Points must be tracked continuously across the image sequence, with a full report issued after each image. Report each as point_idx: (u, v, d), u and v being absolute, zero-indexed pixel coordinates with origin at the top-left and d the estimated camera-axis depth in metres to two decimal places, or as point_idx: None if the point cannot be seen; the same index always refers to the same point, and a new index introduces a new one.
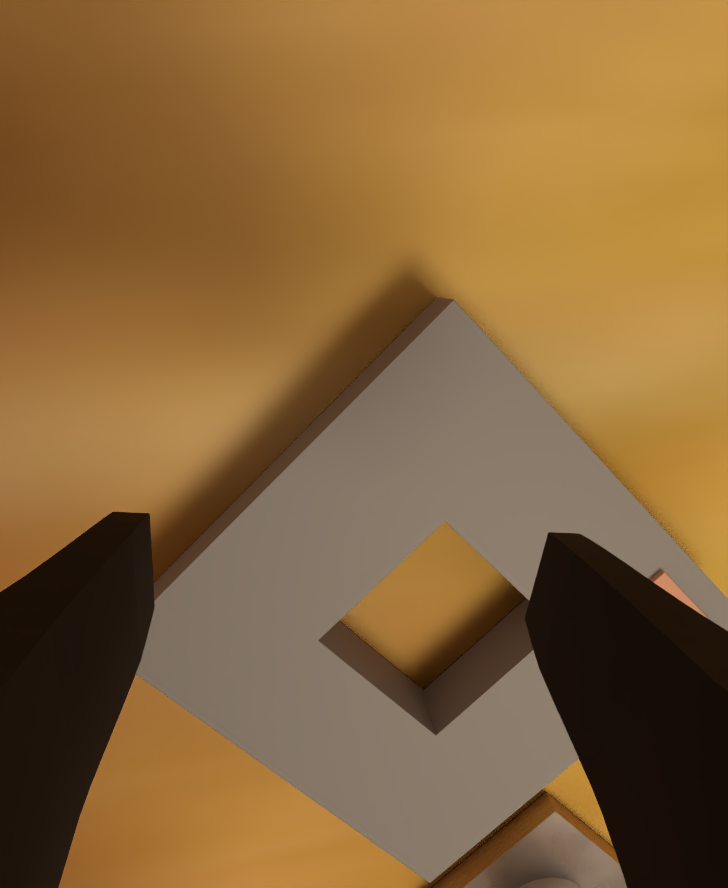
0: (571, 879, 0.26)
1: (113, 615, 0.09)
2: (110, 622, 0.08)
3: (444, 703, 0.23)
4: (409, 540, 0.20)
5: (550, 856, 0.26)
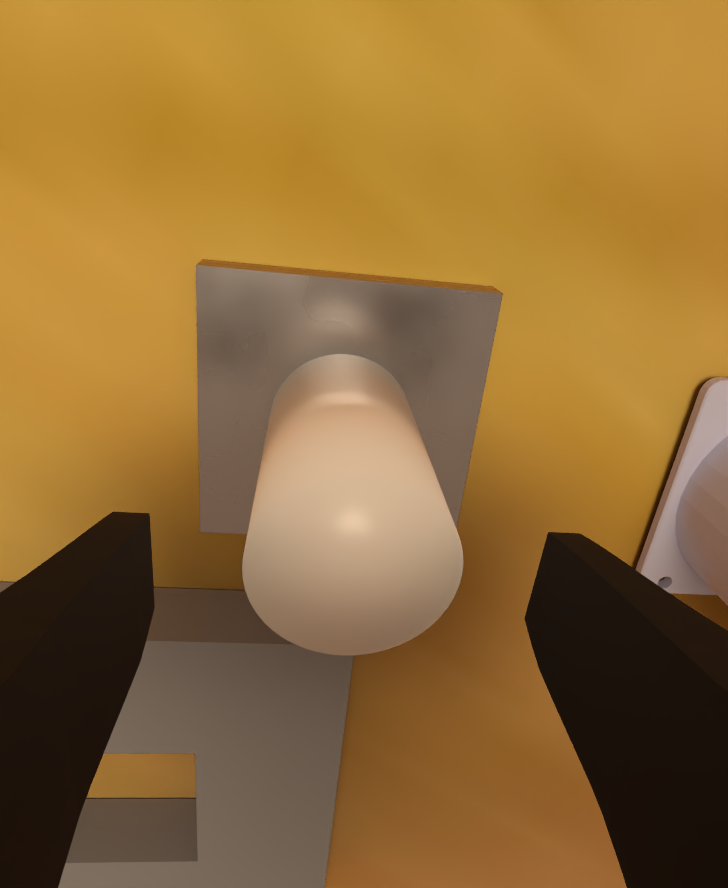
0: None
1: (113, 615, 0.09)
2: (109, 622, 0.08)
3: None
4: (69, 869, 0.22)
5: None
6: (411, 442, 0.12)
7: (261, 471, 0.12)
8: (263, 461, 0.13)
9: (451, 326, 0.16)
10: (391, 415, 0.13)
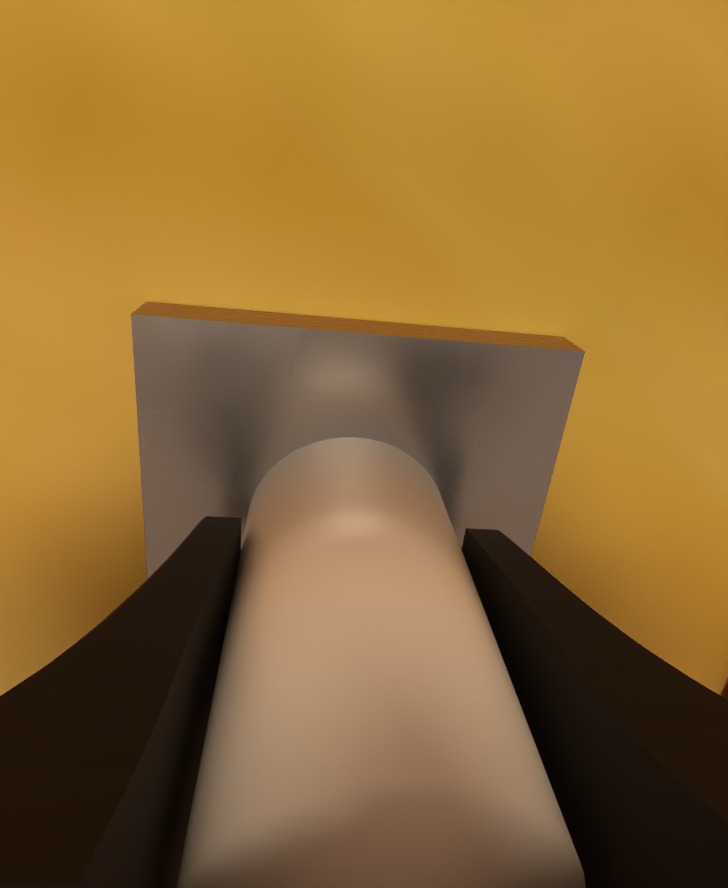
0: None
1: (221, 618, 0.09)
2: (219, 624, 0.09)
3: None
4: None
5: None
6: (472, 632, 0.07)
7: (220, 677, 0.07)
8: (225, 650, 0.08)
9: (508, 397, 0.11)
10: (434, 570, 0.08)
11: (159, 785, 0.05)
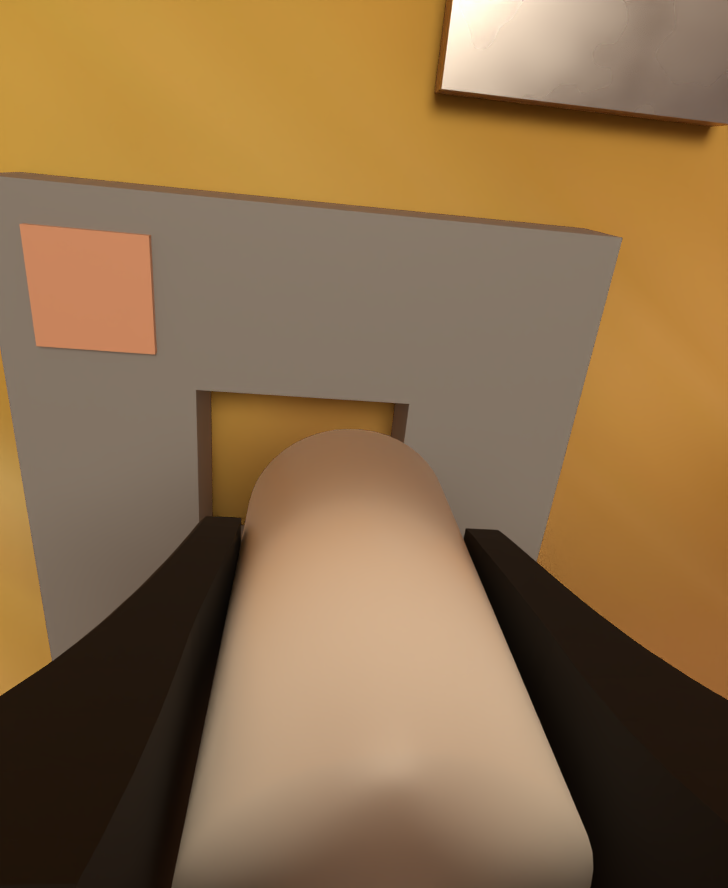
0: None
1: (221, 618, 0.09)
2: (219, 624, 0.09)
3: None
4: None
5: (521, 14, 0.15)
6: (479, 615, 0.07)
7: (222, 655, 0.07)
8: (228, 630, 0.08)
9: None
10: (440, 554, 0.08)
11: (159, 785, 0.05)
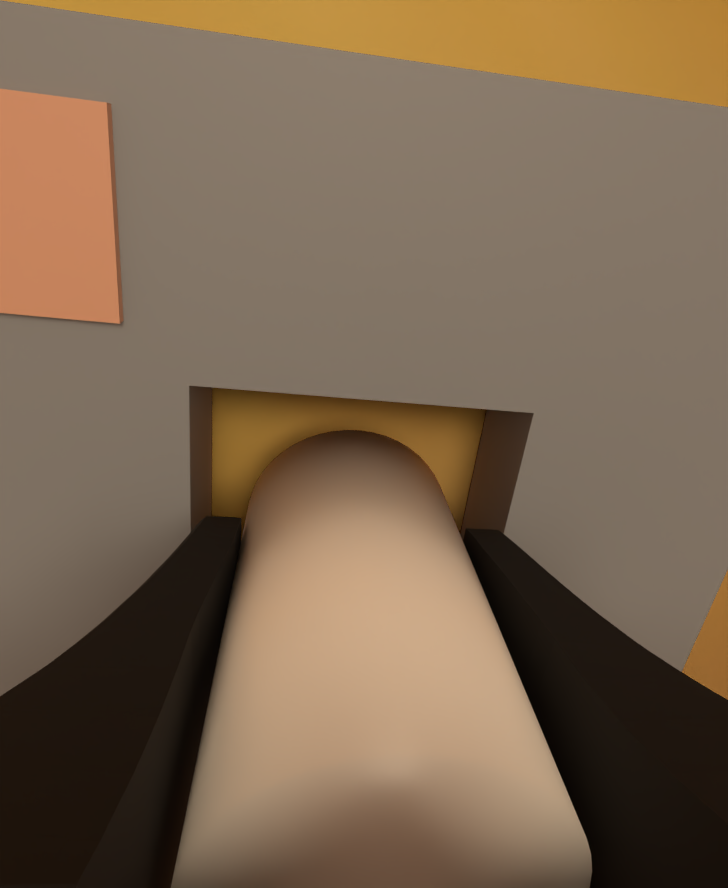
0: None
1: (221, 618, 0.09)
2: (219, 625, 0.09)
3: None
4: None
5: None
6: (478, 617, 0.07)
7: (222, 657, 0.07)
8: (227, 631, 0.08)
9: None
10: (440, 557, 0.08)
11: (159, 785, 0.05)
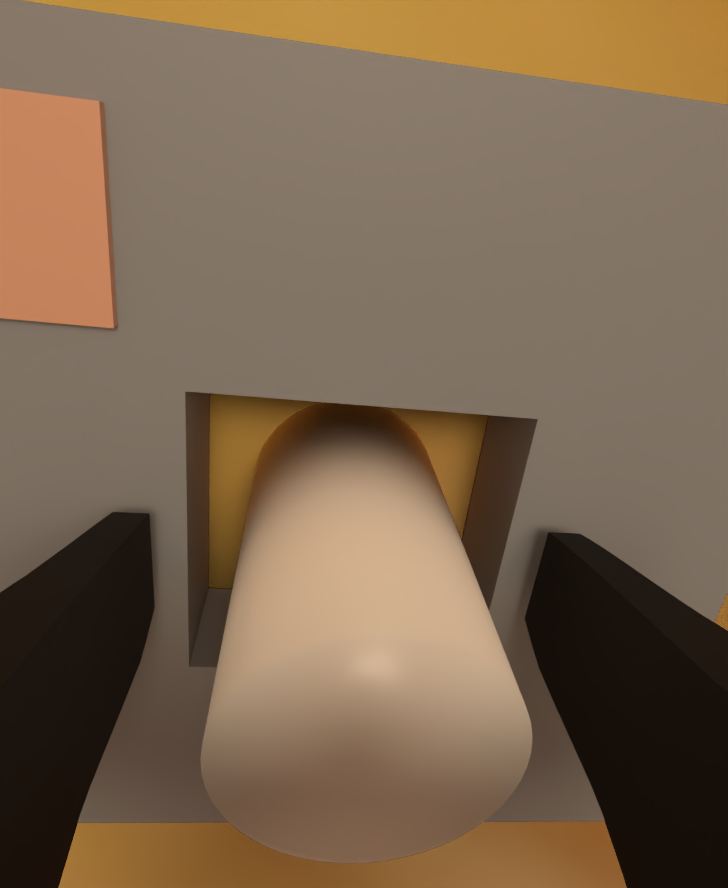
0: None
1: (113, 615, 0.09)
2: (110, 622, 0.08)
3: None
4: None
5: None
6: (450, 549, 0.09)
7: (237, 582, 0.09)
8: (241, 563, 0.09)
9: None
10: (420, 502, 0.09)
11: None
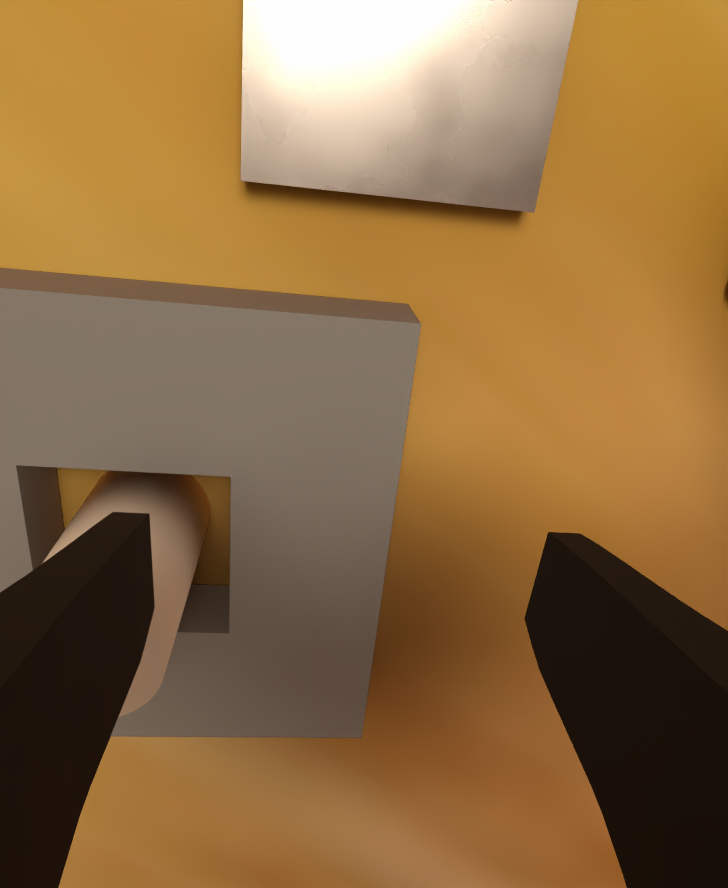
0: (326, 29, 0.14)
1: (113, 615, 0.09)
2: (110, 621, 0.08)
3: None
4: None
5: (311, 112, 0.15)
6: None
7: None
8: None
9: None
10: None
11: None
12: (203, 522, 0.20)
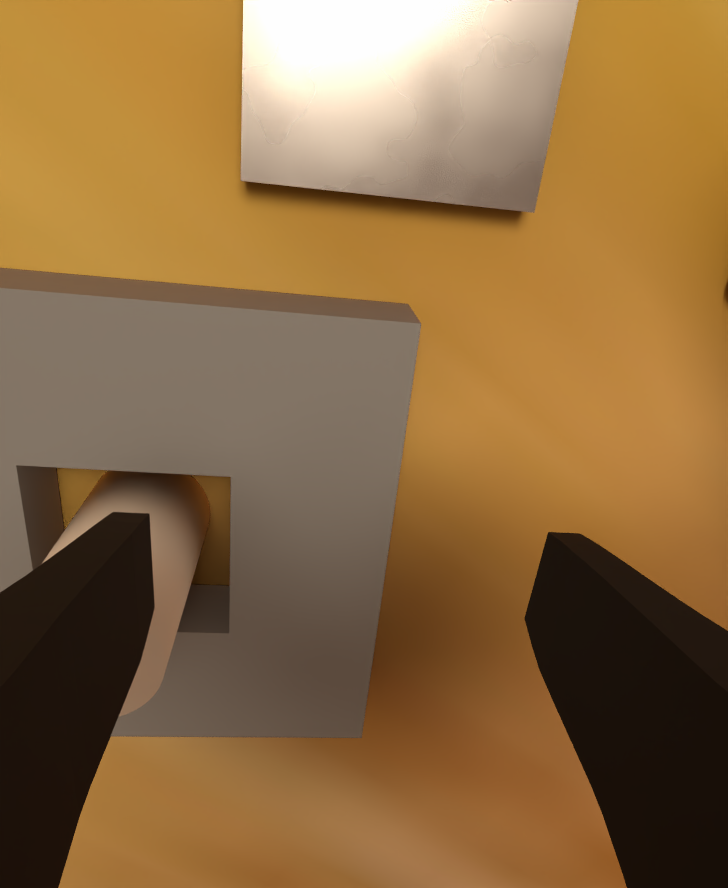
0: (326, 29, 0.14)
1: (113, 615, 0.09)
2: (109, 622, 0.08)
3: None
4: None
5: (311, 112, 0.15)
6: None
7: None
8: None
9: None
10: None
11: None
12: (203, 522, 0.20)
